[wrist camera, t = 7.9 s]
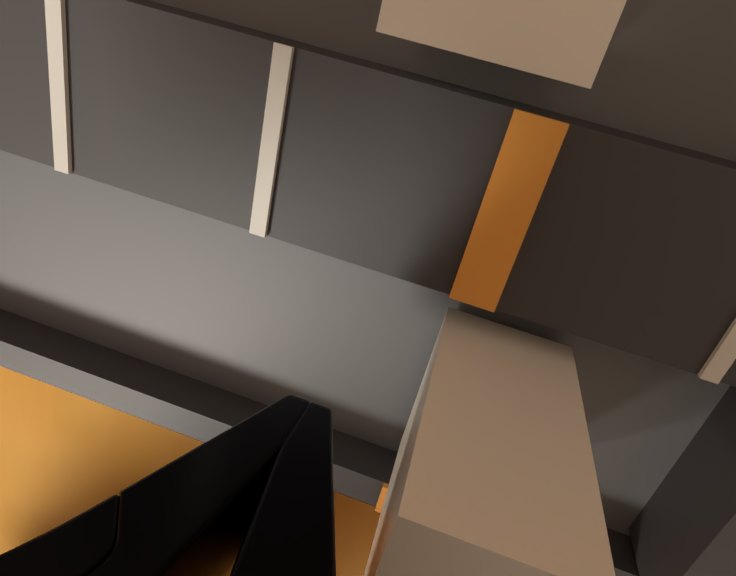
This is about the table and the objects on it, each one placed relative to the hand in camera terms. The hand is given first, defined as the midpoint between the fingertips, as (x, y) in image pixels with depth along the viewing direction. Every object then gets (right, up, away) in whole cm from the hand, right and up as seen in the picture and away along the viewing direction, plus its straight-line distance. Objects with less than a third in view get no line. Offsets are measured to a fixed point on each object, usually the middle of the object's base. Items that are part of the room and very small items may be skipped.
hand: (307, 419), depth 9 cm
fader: (+3, 0, +2) cm, 4 cm away
